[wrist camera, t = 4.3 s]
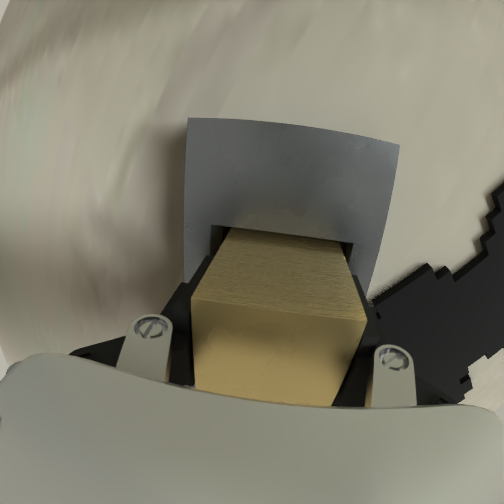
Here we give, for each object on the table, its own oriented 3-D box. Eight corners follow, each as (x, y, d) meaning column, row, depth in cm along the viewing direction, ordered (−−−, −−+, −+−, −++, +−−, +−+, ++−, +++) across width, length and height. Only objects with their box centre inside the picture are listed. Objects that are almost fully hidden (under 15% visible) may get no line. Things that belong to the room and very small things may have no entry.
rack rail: (206, 120, 12) (187, 117, 10) (380, 142, 11) (400, 145, 9) (203, 408, 20) (195, 433, 18) (303, 422, 19) (302, 448, 17)
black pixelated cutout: (567, 111, 7) (244, 353, 17) (575, 113, 7) (242, 363, 17) (588, 270, 11) (353, 445, 21) (593, 275, 10) (354, 452, 20)
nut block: (238, 217, 13) (190, 297, 7) (333, 229, 13) (367, 320, 7) (232, 298, 15) (196, 402, 9) (316, 309, 15) (324, 418, 9)
